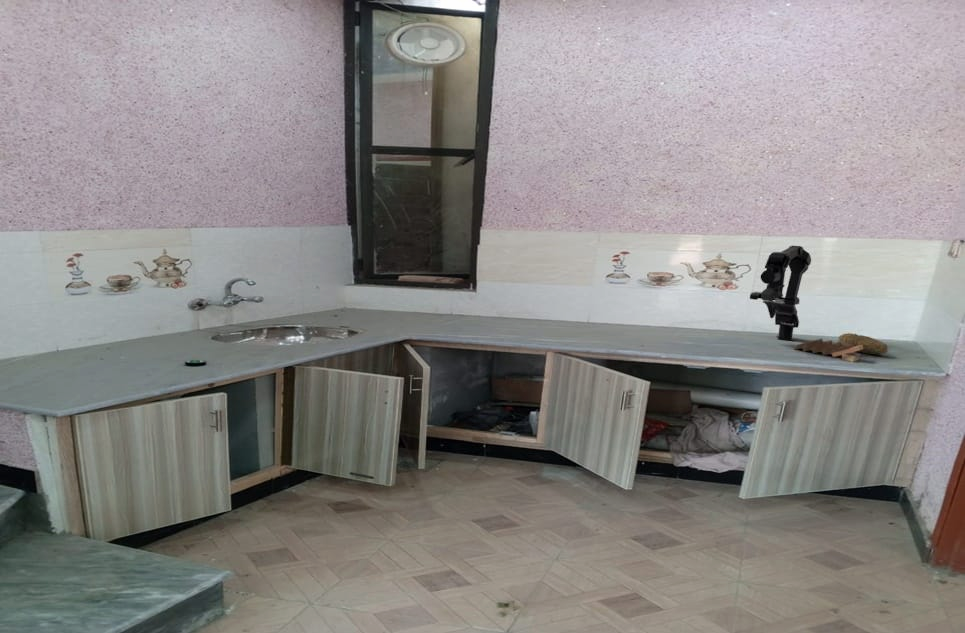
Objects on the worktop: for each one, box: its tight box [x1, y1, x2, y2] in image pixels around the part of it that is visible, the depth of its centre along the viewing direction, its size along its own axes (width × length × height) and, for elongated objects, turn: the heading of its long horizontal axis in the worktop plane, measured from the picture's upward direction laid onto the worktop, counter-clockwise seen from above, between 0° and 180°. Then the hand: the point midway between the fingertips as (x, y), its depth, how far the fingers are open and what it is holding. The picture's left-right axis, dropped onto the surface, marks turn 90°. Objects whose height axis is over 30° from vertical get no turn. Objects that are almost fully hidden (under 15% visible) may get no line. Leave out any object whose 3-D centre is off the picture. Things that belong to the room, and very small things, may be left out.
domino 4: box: [821, 343, 853, 356], centre depth 238 cm, size 2×5×10 cm
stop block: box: [841, 352, 861, 363], centre depth 235 cm, size 4×8×2 cm, turn 131°
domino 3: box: [811, 341, 843, 354], centre depth 241 cm, size 2×5×10 cm
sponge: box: [838, 332, 889, 355], centre depth 249 cm, size 13×8×20 cm
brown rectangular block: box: [793, 338, 824, 350], centre depth 246 cm, size 2×5×10 cm
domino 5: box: [831, 345, 864, 358], centre depth 235 cm, size 2×5×10 cm
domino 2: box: [801, 340, 834, 352], centre depth 243 cm, size 2×5×10 cm
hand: (771, 318), depth 253 cm, fingers closed
